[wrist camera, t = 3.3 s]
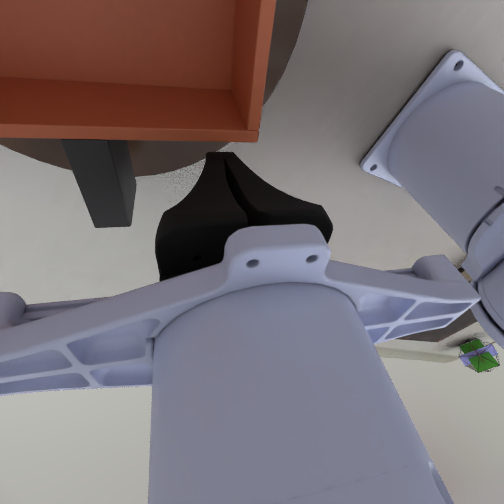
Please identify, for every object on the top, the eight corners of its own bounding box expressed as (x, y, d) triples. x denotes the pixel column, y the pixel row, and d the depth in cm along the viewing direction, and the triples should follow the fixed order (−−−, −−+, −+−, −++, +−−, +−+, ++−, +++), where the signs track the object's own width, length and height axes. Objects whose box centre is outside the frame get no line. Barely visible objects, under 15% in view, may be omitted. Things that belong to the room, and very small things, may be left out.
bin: (264, -229, 8) (328, -343, 5) (234, 169, 18) (249, 221, 15) (-376, -431, 5) (-1217, -1004, 2) (-4, 170, 15) (-53, 235, 12)
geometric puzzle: (455, 352, 59) (479, 386, 58) (490, 339, 56) (515, 374, 55) (446, 339, 65) (467, 369, 64) (477, 326, 63) (499, 358, 62)
